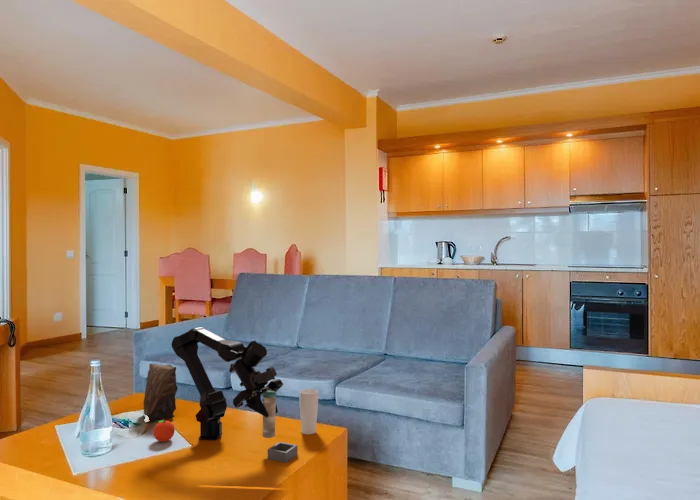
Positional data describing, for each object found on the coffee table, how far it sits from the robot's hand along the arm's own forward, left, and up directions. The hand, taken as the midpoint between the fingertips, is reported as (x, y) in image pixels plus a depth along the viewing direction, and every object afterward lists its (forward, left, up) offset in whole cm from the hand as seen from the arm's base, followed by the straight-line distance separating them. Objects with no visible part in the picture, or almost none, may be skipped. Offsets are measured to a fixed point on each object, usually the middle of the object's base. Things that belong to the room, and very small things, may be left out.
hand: (272, 414), depth 163 cm
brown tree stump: (-53, +32, -13) cm, 64 cm away
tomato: (-40, +9, -13) cm, 43 cm away
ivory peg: (-1, +1, -7) cm, 7 cm away
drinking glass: (+9, +20, -13) cm, 26 cm away
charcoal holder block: (+4, -2, -13) cm, 14 cm away
